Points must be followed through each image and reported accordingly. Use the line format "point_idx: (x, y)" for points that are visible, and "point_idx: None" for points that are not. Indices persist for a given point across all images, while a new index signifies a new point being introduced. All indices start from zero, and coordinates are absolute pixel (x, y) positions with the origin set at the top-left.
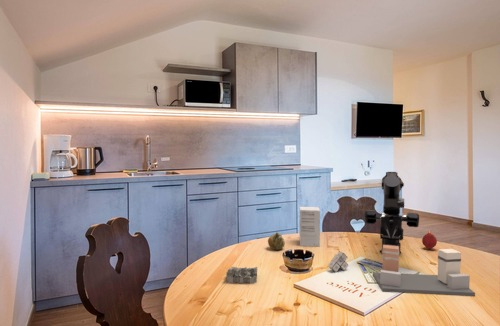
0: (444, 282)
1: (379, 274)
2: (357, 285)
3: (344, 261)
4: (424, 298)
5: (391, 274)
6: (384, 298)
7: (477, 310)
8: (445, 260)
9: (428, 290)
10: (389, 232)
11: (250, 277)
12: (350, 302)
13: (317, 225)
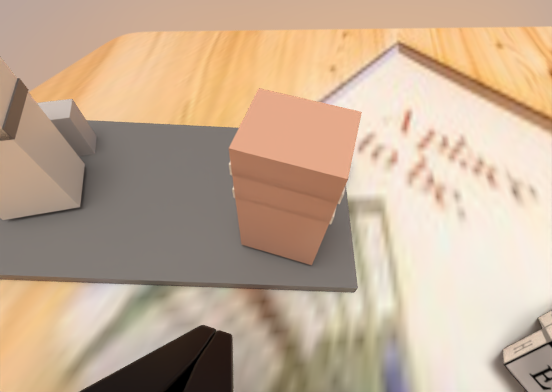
0: (82, 170)
1: (327, 259)
2: (420, 178)
3: (546, 342)
4: (222, 107)
5: None
6: (340, 103)
7: (120, 63)
8: (22, 88)
9: (188, 125)
10: (219, 373)
11: None
12: (431, 83)
13: None
